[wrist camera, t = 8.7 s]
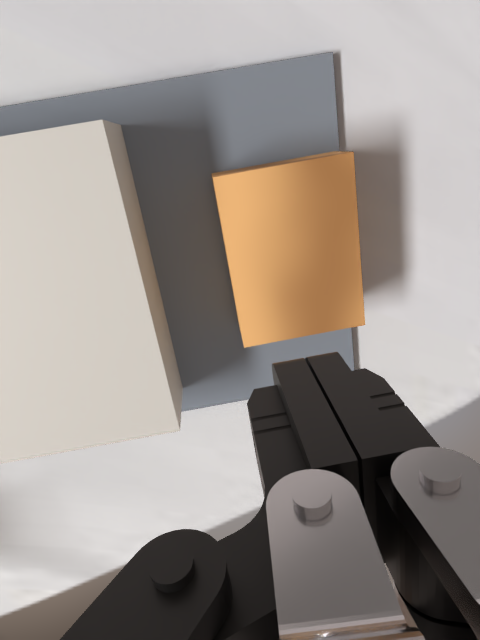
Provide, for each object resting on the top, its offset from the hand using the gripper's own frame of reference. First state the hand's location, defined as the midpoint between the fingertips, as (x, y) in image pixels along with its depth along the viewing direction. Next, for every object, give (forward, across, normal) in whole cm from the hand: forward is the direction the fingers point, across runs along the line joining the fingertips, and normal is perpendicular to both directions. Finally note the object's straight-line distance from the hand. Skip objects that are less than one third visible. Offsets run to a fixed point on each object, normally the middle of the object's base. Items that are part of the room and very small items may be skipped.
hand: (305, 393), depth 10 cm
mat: (+14, +5, 0) cm, 15 cm away
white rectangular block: (+14, +10, 0) cm, 17 cm away
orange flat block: (+11, -2, 0) cm, 11 cm away
